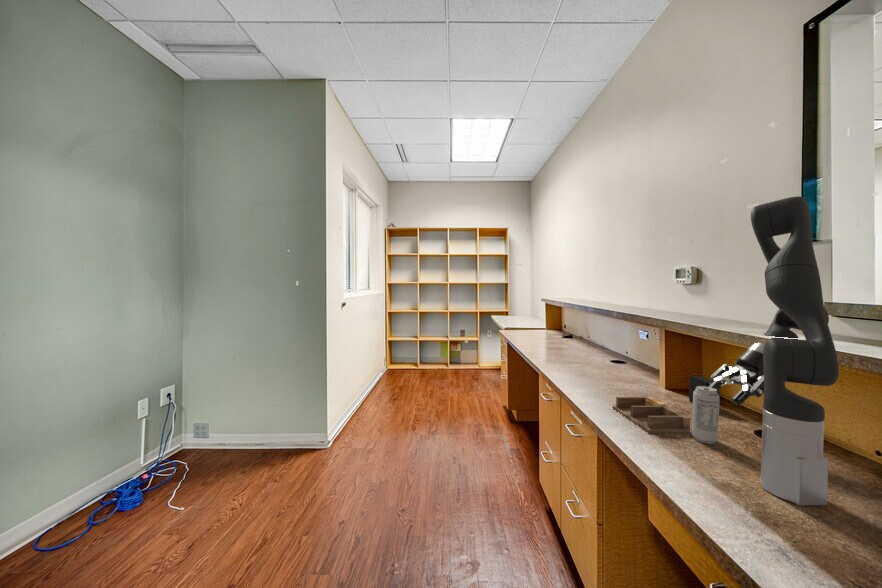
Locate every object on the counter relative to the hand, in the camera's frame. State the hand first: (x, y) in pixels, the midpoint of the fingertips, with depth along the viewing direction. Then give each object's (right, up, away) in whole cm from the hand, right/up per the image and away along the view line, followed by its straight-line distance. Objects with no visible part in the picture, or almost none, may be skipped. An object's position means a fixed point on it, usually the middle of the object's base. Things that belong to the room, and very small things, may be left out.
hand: (721, 397), depth 100 cm
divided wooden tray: (-12, -12, +15) cm, 23 cm away
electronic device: (+16, -12, +28) cm, 34 cm away
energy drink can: (-5, -13, 0) cm, 13 cm away
